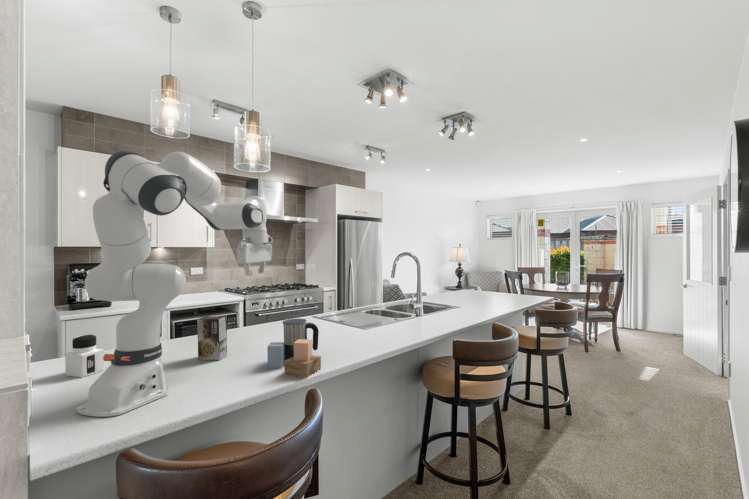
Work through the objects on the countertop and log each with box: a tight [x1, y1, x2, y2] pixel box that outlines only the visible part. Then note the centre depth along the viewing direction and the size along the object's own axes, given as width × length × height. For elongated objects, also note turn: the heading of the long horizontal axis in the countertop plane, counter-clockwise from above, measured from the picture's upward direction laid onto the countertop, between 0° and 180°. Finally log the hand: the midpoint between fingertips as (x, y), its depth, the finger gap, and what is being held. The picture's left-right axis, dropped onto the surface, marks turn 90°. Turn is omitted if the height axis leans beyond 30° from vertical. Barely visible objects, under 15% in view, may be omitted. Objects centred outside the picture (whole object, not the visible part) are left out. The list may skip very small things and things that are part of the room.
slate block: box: [267, 341, 285, 369], centre depth 135 cm, size 5×5×8 cm
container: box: [64, 334, 105, 378], centre depth 128 cm, size 8×8×13 cm
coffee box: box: [196, 315, 228, 361], centre depth 145 cm, size 9×6×16 cm
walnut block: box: [284, 354, 322, 379], centre depth 129 cm, size 9×9×5 cm
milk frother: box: [282, 318, 320, 361], centre depth 148 cm, size 14×16×15 cm
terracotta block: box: [294, 338, 313, 361], centre depth 129 cm, size 5×5×6 cm
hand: (255, 274), depth 142 cm, fingers open, 8 cm apart
